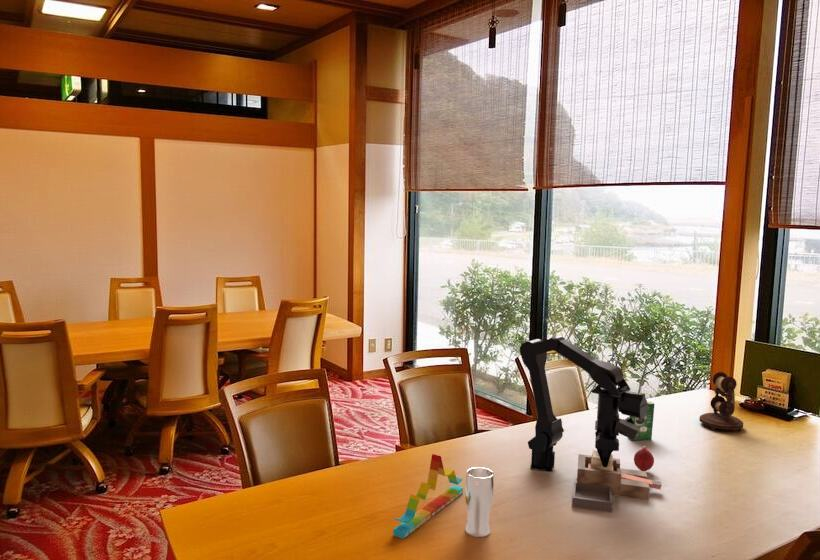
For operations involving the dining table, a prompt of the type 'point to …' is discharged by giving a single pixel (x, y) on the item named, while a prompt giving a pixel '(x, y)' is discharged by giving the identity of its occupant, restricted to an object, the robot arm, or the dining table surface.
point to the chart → (417, 519)
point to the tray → (592, 497)
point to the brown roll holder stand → (723, 405)
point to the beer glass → (478, 500)
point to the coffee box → (645, 424)
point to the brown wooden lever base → (613, 479)
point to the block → (597, 462)
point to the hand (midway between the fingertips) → (604, 463)
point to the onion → (643, 459)
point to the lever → (639, 479)
